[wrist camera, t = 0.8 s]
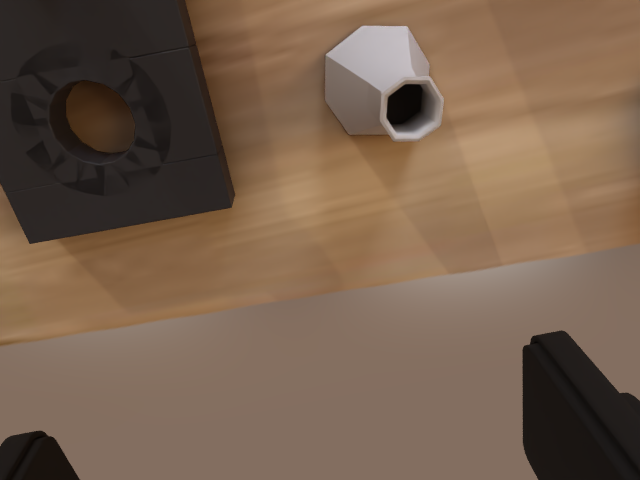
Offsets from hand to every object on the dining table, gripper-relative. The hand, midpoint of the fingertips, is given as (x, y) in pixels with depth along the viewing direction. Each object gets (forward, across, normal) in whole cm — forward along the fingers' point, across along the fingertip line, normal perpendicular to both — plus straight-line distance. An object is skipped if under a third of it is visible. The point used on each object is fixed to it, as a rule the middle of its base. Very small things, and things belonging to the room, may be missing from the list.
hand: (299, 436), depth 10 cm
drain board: (+26, +12, -8) cm, 30 cm away
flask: (+26, -6, -2) cm, 27 cm away
